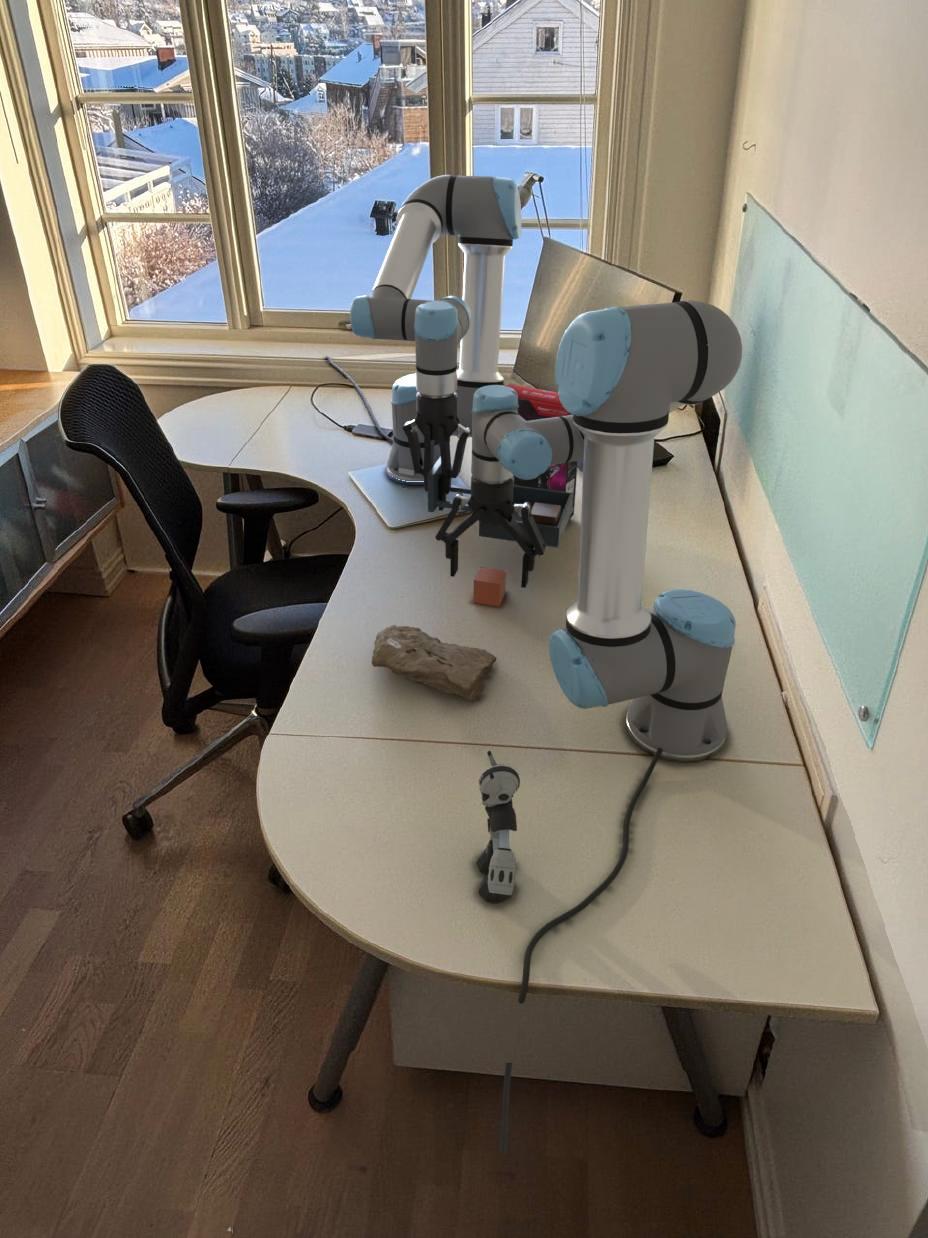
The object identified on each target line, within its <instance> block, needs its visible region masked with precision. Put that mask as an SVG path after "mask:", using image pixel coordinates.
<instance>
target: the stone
mask: <svg viewBox="0 0 928 1238" xmlns="http://www.w3.org/2000/svg"><path fill="white" fill-rule="evenodd" d="M372 653H373V655H372V656H371V665H372V667H374V668H377V667H381V668H387V669H388V670H390V671H391V673H392V674H393V675H395V676H398V677H405V678H406V679H407V680H410V681H413V682H415V681H416V682H420V683H421V684H424V685H426V686H430V687H431V688H435V689H437V690H438V691H441V692H443V693H445V694H450V695H458V696H460V697H462V698H464V699H465V700H466V701H470V702H474V701H477V700H479V698H480V697H481V695H482V693H483V690H484V688H485V682H486V680H487V678H488V675H490V672H491V670H492V668H493V665H494V664H495V663H496V661H497V660H498V659H497V657H496V656H495V655H494V654H493V653H491V652H490V651H487V650H486V649H482V648H479V647H471V646H470V647H469V646H465V645H459V644H457V643H448V642H442V641H441V640H440V639H439V638H438V637H433V636H430V635H429V634H428V633H426V632H424V631H422V630H421V628H419V627H415V626H409V625H396V624H393V625H390V626H388V627H385V628H383V629H382V630H381V631H379V632H377V634H376V637H375V640H374V649H373V652H372Z"/></svg>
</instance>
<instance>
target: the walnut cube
mask: <svg viewBox="0 0 928 1238" xmlns="http://www.w3.org/2000/svg"><path fill="white" fill-rule="evenodd" d="M531 514H532V516H533V518H534V520H535V522H536V524H543V525H550V526H557V525H558V523H559V520H560V514H561V506H560V505H552V504H544V503H537V502H535V504H534V506H533V508H532V510H531Z"/></svg>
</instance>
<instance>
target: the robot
mask: <svg viewBox="0 0 928 1238" xmlns="http://www.w3.org/2000/svg"><path fill="white" fill-rule="evenodd" d="M486 753H487V757H488V760H489V763H490V765H491V766H489V767H488V768H486V769H485V770H484V771H483V772H482V773H481V775H480V777H479V779H478V784H479V785H478V787H479V791H480V794H481V804H482V805H483V806H484V810H485V812H486V814H487V817H488V818H487V820H486V821H487V832H488V833H489V836H490V837H489V838H490V840H489V841H488V843H487V844H486V848H485V849H484V850H483V852H482V853H481V854H480V855H479V857H478V859H477V861H476V862H475V864H476V866H477V868H478V870H479V872H480V873H482V874H484V875H485V876H484V877H483V879H482V881H481V883H480V886H479V889H478V895H479V896H480V897H481V898H482V899H483V900H484V901H485V902H489V903H492V904H495V903H496V904H497V903H502V902H503V901H505V900H508V899H509V898H512V895H513V892H514V887H515V879H516V874H517V861H516V860H517V859H516V856H515V851H513V850H512V848H511V844H510V831H513V832H517V831H518V823H517V814H516V811H515V808H514V806H513V799H512V798H513V797H514V795H515V793H516V792H517V791H518V790H519V788H520V786H521V779H520V775H519V772H517V770H516V769H515V768H513V767H511V766H510V765H507V764H505V763H498V762H497V761H496V759H495V757H494V755H493V753H492V751H491V750H488V751H487V752H486Z"/></svg>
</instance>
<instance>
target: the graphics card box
mask: <svg viewBox="0 0 928 1238" xmlns="http://www.w3.org/2000/svg"><path fill="white" fill-rule="evenodd" d="M506 386H507V387H510V388H512V389H514V390H515V391H516V393H517V395H518V405H519V407H518V414H519V415H520V416H521V417H522V418H523V419H524V420H526V421H531V420H538V419H545V418H553V417H560V416H568V415H573V414H571V413H569V412H568V411H567V410H566V409H565V408H564V407H563V405H562V403H561V401H560V399H559V396H558V391H550V390H547V389H541V388H535V387H532V386H531V387H530V386H526V385H525V386H524V385H521V384H520V385H519V384H515V383H508V384H506ZM578 462H579V461H573V462H567V463H562V464H556V465H549V467H548V469H547V470H546V471H545V472H544V473H542V474H541V475H539V476H537V477H536V478H534V479H530V480H524V479H520V478H517V477H516V476H514V475H513V477H514V485H517V486H524V487H532V488H540V489H548V490H555V491H563V492H570V493H574V494H573V506H572V513H571V515H570V518H569V520H571V518H573V516H574V515H575V505H576V493H577V492H576V491H577V477H578Z"/></svg>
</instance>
